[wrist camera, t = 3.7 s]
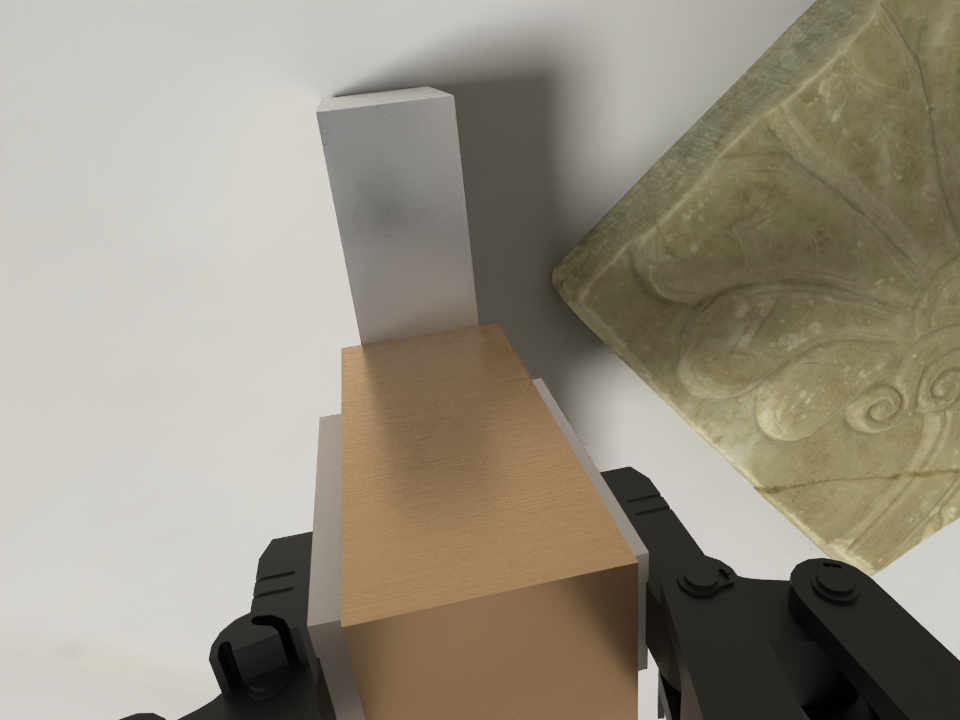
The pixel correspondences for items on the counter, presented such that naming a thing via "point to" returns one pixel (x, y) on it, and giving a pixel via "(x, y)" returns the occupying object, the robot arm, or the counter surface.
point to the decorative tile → (808, 276)
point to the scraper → (457, 462)
